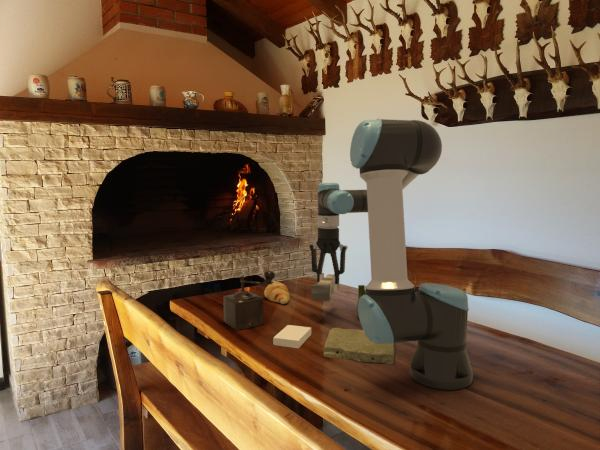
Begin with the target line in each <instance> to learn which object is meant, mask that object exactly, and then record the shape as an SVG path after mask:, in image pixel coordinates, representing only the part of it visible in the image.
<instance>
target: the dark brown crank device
mask: <svg viewBox="0 0 600 450" xmlns="http://www.w3.org/2000/svg"><path fill="white" fill-rule="evenodd" d="M275 273H276V272H275V271H272V270H266V271H264V273H263V276H264V279H265V280H264V281H263V282H262V281H261V282H260V281H252V280H251V281H249V280H248V281H247V280H245V276H244V275H241V276H240V281H239V282H240V283H241V285H240V286H241V289H240V291H236V292H235V293H233V294H229V295H223V297H222V300H223V301H222V302H223V303H222V304H223V305H222V306H223V323H224V322H225V324H226V325H227V324H228V325H227V326H229V327H230V326H231V327H230V328H232V329H234V330H235V331H241V329H242V330H245V329H250V328H254V327H258V326H261V325H263V324H265V322H264V298H263V297H262V296H260V295H257V294H256V293H253V292H250V291H249V290H245V284H246V285H247V284H249V285H260V286H268V285H269V284H272V283H273V282H272V281H273V279H275V278H276V274H275Z"/></svg>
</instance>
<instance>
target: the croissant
mask: <svg viewBox="0 0 600 450" xmlns="http://www.w3.org/2000/svg"><path fill="white" fill-rule="evenodd" d="M263 295H264V297H265V298H266V299H267V300H268V301H271V302H275V303H278V304H281V305H286V304H287V303H288V302H289V300H290V297H291V295H290V292H289V289H288V287H287V285H286V284H284V283H282V282H279V281H274V282H272V284H269V285H266V287H265V288H264V291H263Z"/></svg>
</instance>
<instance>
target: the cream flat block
mask: <svg viewBox="0 0 600 450" xmlns="http://www.w3.org/2000/svg"><path fill="white" fill-rule="evenodd" d="M311 335H312V327H310V326H302V325H301V326H300V325H291V324H287V325H286V326H285V327H284V328H283V329H281V330H280V331H279V332H278V333H277V334H276V335H275V336H274V337H273V340H272V343H273V346H277V347H278V346H279V347H285V348H290V349H291V348H293V349H299V348H300V347H301V346H302V345H303V344H304V343H305V342H306V341H307V340H308V339H309V338H310V337H311Z"/></svg>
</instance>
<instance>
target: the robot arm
mask: <svg viewBox="0 0 600 450" xmlns="http://www.w3.org/2000/svg"><path fill="white" fill-rule="evenodd" d="M442 151H443V145H442V139H441V137H440V135H439V133H438V131H437V129H436V128H434V127H433V126H432V125H431V124H430V123H427V122H425V121H422V120H418V119H411V120H408V119H407V120H406V119H386V118H385V119H383V118H382V119H381V118H377V119H365V120H364V119H363V120H362V121H360V122H359V124H358V125H357V126H356V128H355V130H354V133H353V135H352V138H351V142H350V151H349V158H350V162H351V165H352V167H353V168H355V169H359V178H361V179H362V181H364V182H365V183H366V189H340V184H339V183H337V182H321V183H319V184H318V185H317V193H316V195H317V227H318V228H317V240H316V242H314V243H311V244H310V245H308V246H309V250H310V252H311V253H310V254H311V255H310V256H311V257H310V258H311V272H312V273H315V274H316V282H317V283H318V282H320V281H321V280H322V279H323V278H325V273H324V272H323V268H324V263H325V257H326V255H327V254H329V255H330V258H331V261H332V262H331V263H332V267H333V268H332V269H333V272H334V273H333V274H334V275H333V295H334V294H336V293H337V291H338V290H337V284H338V283H339V284H340V275H343V274H344V273H345V271H346V252H347V250H348V246H347V245H344V244H341V241H340V228H339V226H340V215H346V214H353V213H354V214H355V213H367V219H368V235H369V236H368V239H369V254H370V256H369V257H370V275H371V276H370V278H371V280H370V281H369V283H368V284H367V285H365V286H366V295H363V296H362V297H360V299H359V304H358V314H359V317H358V319H359V323H360V326H361V328H362V330H363V331H364V333H365V335H366V336H367V338H368V339H369V340H370V341H371V342H373V343H376V344H387V343H388V344H393V343H395V344H396V343H397V344H399V343H406V342H415V341H417V345H416V347H415V350H414V353H413V355H412V358H411V361H410V364H409V375H410V376H411V377H410V378H412V379H413V380H414V381H415V382H417V383H418V384H420V385H422V386H425V387H428V388H431V389H436V390H443V391H454V390H455V391H457V390H461V389H465V388H468V387H469V386H470V385H472V384H473V378H474V376H473V374H474V373H473V372H474V371H473V368H472V365H471V361H470V358H469V354H468V351H467V338H468V317H469V316H468V315H469V314H468V312H469V310H470V308H469V300H468V299H469V298H468V294H467V293H466V292H465V291H463V290H462V289H460V288H457V287H453V286H450V285H447V284H440V283H432V282H431V283H430V282H424V283H421V284H419V287H418V291H415V290H416V289H415V284H413V283H412V282H411V281H410V280H409V278H408V267H407V266H408V265H407V245H406V231H405V230H406V228H405V217H404V216H405V211H404V195H403V194H404V193H403V190H405V188H406V187H407V186H409V184H410V183H412V182H413V181H414V180H415V179H416V178H418V176H419V175H420V176H421V175H424V174H427V173H429V172H430V170H431V169H433V168H434V167H435V166H436V165H437V164H438V162H439V159H440V158H441V155H442ZM317 249H319V250H320V251H319V252H320V253H319V258H318V257H317ZM338 249H339V251H340V254H339V255H340V257H339V258H340V259H339V261H338V256H337V250H338Z"/></svg>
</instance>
